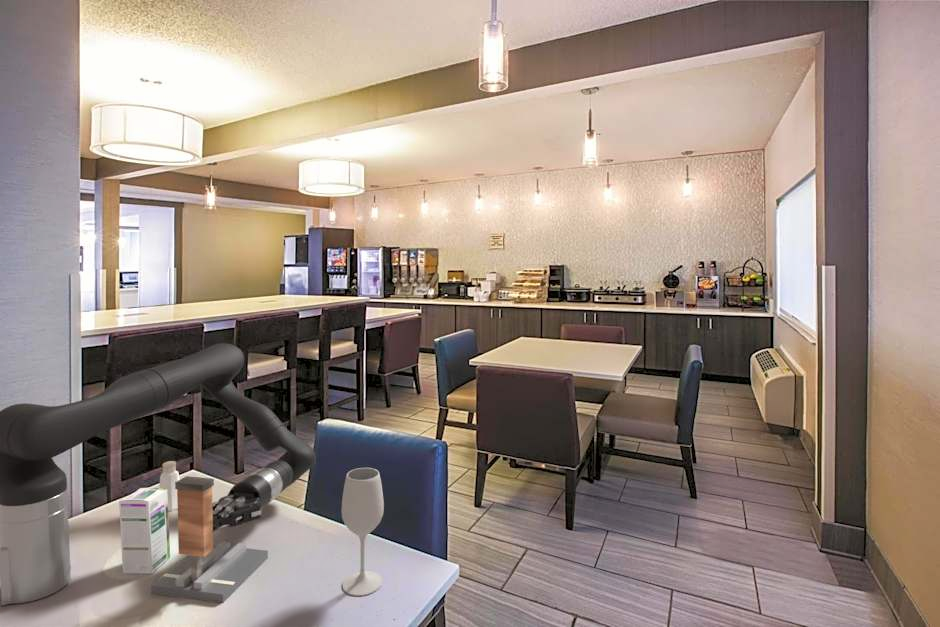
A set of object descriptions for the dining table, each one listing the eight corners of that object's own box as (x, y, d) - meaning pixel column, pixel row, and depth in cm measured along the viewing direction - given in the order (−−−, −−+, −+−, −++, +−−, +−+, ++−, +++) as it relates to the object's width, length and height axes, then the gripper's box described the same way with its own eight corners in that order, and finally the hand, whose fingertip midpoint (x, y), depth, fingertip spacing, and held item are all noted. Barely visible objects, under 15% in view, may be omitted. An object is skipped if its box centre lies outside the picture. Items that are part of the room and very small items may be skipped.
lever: (188, 573, 91) (186, 476, 90) (215, 576, 90) (213, 478, 89) (177, 582, 88) (175, 482, 87) (204, 586, 87) (203, 485, 86)
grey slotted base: (204, 550, 102) (204, 537, 101) (267, 557, 100) (267, 544, 99) (151, 593, 88) (150, 578, 88) (223, 602, 86) (222, 587, 86)
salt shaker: (180, 499, 124) (179, 457, 123) (185, 507, 120) (184, 463, 119) (155, 505, 121) (154, 461, 120) (158, 514, 116) (157, 468, 116)
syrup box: (151, 575, 93) (149, 500, 92) (120, 574, 93) (118, 499, 92) (170, 557, 99) (169, 487, 98) (141, 556, 99) (139, 486, 98)
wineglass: (389, 575, 95) (390, 468, 93) (371, 600, 87) (372, 485, 86) (354, 568, 97) (354, 463, 95) (333, 592, 89) (333, 479, 88)
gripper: (228, 471, 108) (169, 508, 91) (285, 476, 106) (235, 514, 89) (229, 505, 109) (170, 547, 91) (285, 510, 107) (235, 554, 89)
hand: (202, 531), depth 90 cm, fingers closed
